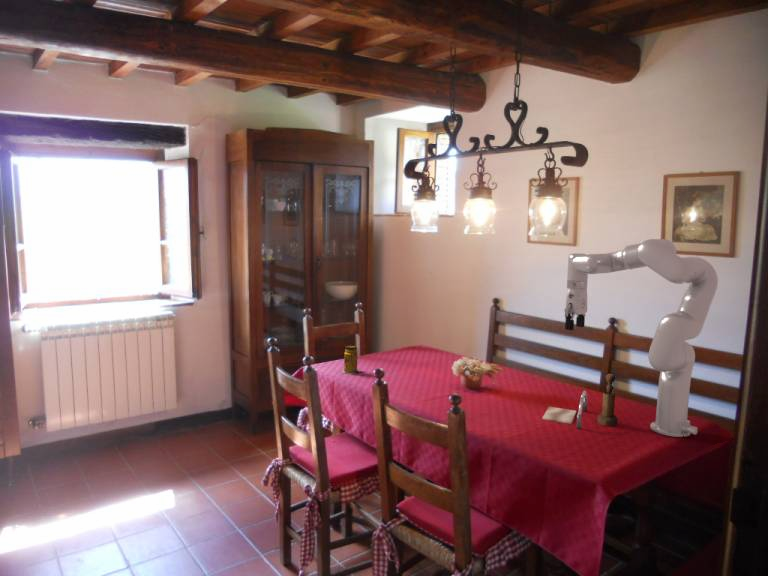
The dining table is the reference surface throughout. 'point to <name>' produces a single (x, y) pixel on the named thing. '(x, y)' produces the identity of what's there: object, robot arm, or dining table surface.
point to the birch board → (559, 415)
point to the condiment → (350, 360)
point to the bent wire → (581, 408)
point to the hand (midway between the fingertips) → (574, 328)
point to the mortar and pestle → (608, 404)
